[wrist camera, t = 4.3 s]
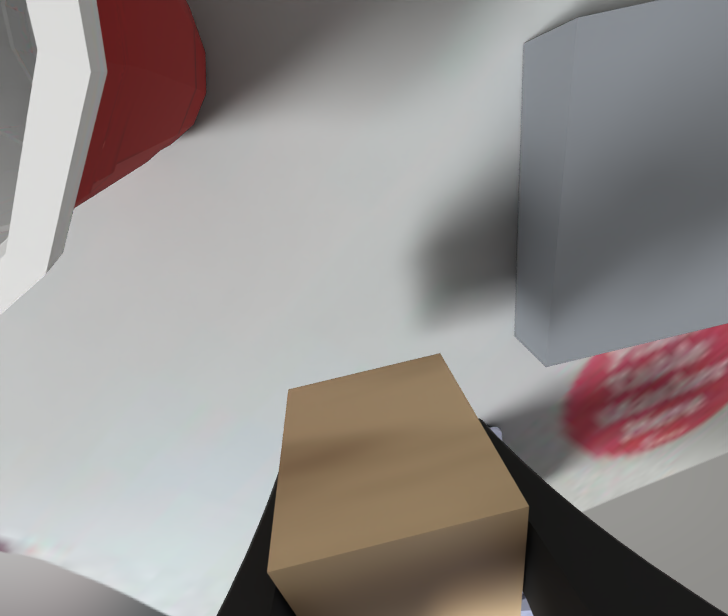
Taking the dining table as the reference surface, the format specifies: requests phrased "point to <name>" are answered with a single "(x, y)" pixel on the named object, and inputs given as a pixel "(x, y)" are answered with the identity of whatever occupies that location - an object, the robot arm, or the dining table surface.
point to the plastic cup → (83, 112)
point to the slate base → (623, 180)
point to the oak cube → (394, 501)
